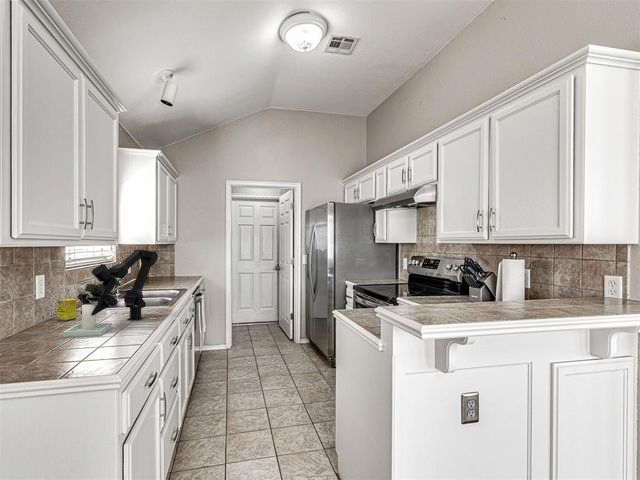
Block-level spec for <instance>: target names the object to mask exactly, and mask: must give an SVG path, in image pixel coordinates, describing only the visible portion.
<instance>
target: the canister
mask: <svg viewBox="0 0 640 480" xmlns="http://www.w3.org/2000/svg"><path fill="white" fill-rule="evenodd" d="M96 305H97V304H96V303H91V304H84V305H83V304H82V305H81V307H82V308H81V310H82V315H81V324H82V330H91V329H95V328H96V323H97V314H95V315H94V316H92V315H91V314H92V312H93V310H94V309H95V307H96Z"/></svg>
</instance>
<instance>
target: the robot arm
mask: <svg viewBox="0 0 640 480" xmlns="http://www.w3.org/2000/svg"><path fill="white" fill-rule="evenodd" d="M158 259H159V254H158V253H157V251H156V250H155V251H153V250H145V249H142V248H141V249H140V248H138V249H134V250H133V252H132V253H131V254H129V255H128V256H127V257H126V258H125V259H123V261H121V262H120V263H116V264H114V265H112V266H111V267H109V268H108V267H107V265H106V264H104V263H102V264H99V265H98V266H96V267H95V268H93V269H92V270H91V274H92V276H94V277H95V278H96V280H97V281H99V282H100V283H97V284H94V283H93V284H92V283H87V284H86V286H85V289H84V293H83V292H81V293H79V294H78V295H77V296H76V299H78V300H79V301H80V302H81V303H82V305H84V304H93V302H97V304H96V307H95V309H94V310H93V312H92V314H91V315H92V316H94V315H95V314H96V315H97V314H99V313H100V312H102V311H104V310H105V309H108V308H110V307H116V306H117V305H118V300H117V298H116V297H115V296H114V295H113V292H112V291H113V290H114V288H115V287H120V285H121V284H120V280H117V279H123V278H125V277H126V276H127V274H128V273H129V269H130V268H131V267H132V266H134V265H135V264H136V263H137V262H138V261H140V263H141V264H140V267H139V270H138V272H137V275H136V278H135V281H134V282H133V285H132V287H131V289H127V290H126V291H125V295H124V296H123V297H124V298H123V302H124V305H125V307H126V308H127V309H128V308H129V317H128V318H127V320H128V321H130V320H131V321H132V320H133V321H134V320H141V319H143V318H144V316H143V315H142V309H143V308H146V305H147V303H146V302H145V300H144V299H143V297H144V294H143V288H144V287H145V283H146V281H147V277H148V275H149V272H150V270H151V268H152V267H153V266H154V265H155V264H156V262H157V260H158ZM85 292H89V294H90V295H91V296H90V295H89V294H88V293H85ZM80 315H81V316H82V309H81V310H80Z"/></svg>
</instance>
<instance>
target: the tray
mask: <svg viewBox="0 0 640 480" xmlns="http://www.w3.org/2000/svg"><path fill="white" fill-rule="evenodd" d="M111 329H113V322H96V328H95V329H91V330H82V323H77V324H75V325H73V326H71V327H69V328H68V329H66V330H64V331H63V332H62V338H83V337H84V338H85V337H102V336H103V335H104V334H105V333H107V332H108V331H110V330H111Z"/></svg>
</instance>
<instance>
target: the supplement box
mask: <svg viewBox="0 0 640 480" xmlns="http://www.w3.org/2000/svg"><path fill="white" fill-rule="evenodd" d="M74 320H75V321H76V320H77V298H62V299H58V300H57V321H58V322H71V321H74Z"/></svg>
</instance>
